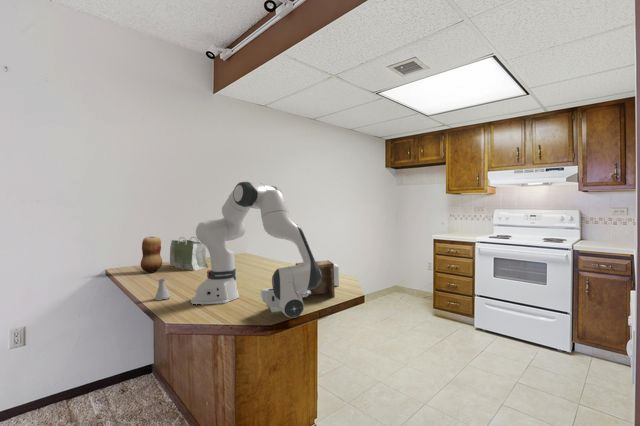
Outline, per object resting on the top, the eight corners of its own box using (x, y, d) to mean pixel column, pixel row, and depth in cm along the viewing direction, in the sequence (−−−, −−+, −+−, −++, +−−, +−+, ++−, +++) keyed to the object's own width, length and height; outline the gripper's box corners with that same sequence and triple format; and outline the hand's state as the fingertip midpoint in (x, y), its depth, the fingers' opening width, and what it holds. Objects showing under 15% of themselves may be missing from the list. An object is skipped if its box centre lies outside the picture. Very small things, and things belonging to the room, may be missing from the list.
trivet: (271, 312, 133) (271, 311, 133) (268, 303, 144) (268, 302, 144) (299, 309, 136) (299, 307, 136) (294, 301, 147) (294, 299, 147)
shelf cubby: (300, 300, 147) (298, 266, 147) (296, 295, 156) (295, 263, 155) (334, 297, 152) (333, 263, 151) (329, 292, 160) (328, 260, 160)
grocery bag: (210, 267, 233) (208, 236, 232) (192, 271, 222) (191, 238, 221) (186, 263, 252) (184, 234, 251) (169, 266, 240) (167, 236, 240)
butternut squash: (156, 274, 216) (154, 237, 215) (137, 274, 216) (135, 238, 215) (166, 269, 230) (164, 235, 229) (148, 270, 230) (146, 236, 229)
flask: (154, 302, 153) (153, 281, 152) (154, 298, 159) (153, 278, 159) (171, 299, 156) (170, 279, 156) (170, 295, 163) (169, 276, 162)
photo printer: (337, 284, 175) (337, 262, 174) (340, 286, 171) (339, 263, 170) (319, 285, 173) (319, 263, 172) (321, 287, 168) (320, 264, 168)
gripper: (312, 286, 130) (305, 278, 143) (261, 291, 125) (259, 282, 138) (312, 301, 130) (305, 292, 143) (262, 306, 125) (259, 296, 138)
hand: (282, 287), depth 141 cm, fingers open, 6 cm apart
